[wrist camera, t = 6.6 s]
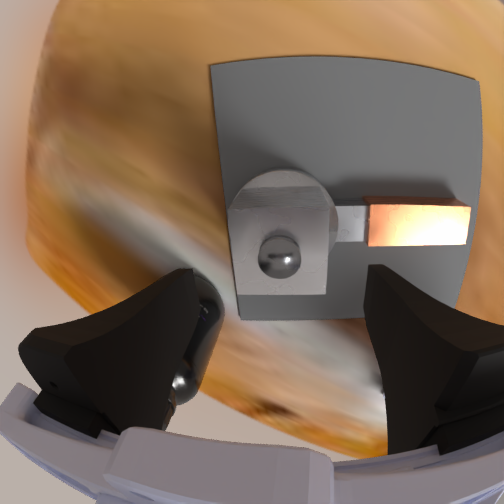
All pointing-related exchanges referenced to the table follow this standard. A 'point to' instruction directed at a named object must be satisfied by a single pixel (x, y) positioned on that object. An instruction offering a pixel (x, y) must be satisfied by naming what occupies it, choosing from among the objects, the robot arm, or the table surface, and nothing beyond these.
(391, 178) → the mat
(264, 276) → the socket
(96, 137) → the table surface
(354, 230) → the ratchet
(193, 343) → the supplement bottle
